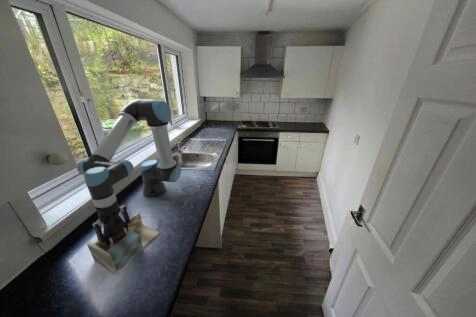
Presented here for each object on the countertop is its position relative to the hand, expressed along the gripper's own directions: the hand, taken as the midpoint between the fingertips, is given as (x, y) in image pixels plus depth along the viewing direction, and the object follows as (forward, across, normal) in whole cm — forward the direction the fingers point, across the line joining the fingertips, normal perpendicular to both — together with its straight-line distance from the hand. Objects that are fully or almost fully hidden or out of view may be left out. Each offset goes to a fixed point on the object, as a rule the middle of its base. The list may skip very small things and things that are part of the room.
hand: (119, 242), depth 83 cm
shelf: (+4, -3, +2) cm, 5 cm away
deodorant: (+3, 0, 0) cm, 3 cm away
